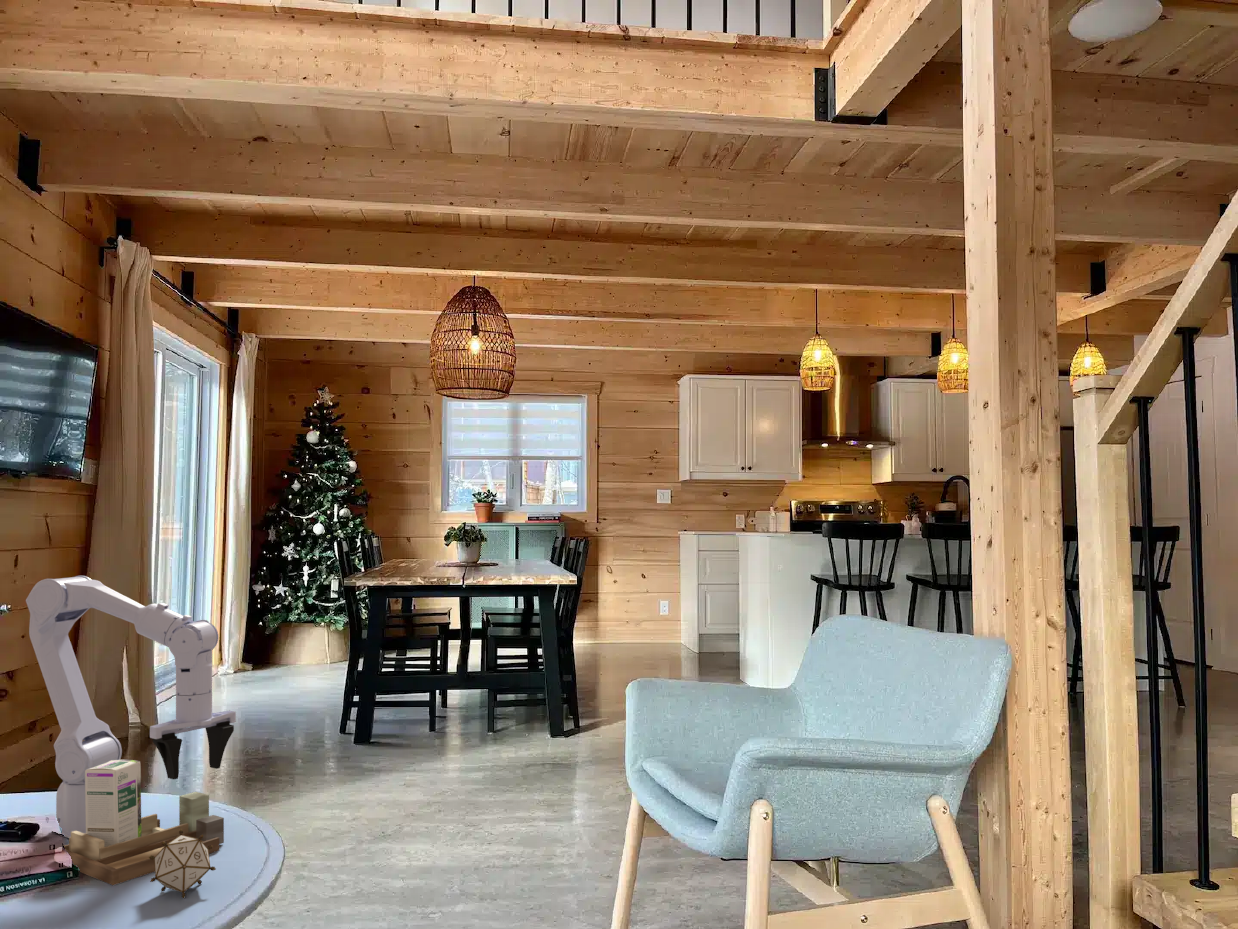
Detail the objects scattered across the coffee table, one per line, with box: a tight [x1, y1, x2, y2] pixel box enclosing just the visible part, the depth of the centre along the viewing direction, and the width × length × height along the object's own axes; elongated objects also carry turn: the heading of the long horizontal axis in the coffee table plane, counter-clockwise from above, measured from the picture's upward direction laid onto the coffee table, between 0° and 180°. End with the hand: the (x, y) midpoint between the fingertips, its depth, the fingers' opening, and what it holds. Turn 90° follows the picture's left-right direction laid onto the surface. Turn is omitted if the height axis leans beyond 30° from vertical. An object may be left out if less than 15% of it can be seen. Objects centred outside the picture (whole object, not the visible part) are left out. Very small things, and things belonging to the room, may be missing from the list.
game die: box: [149, 829, 217, 899], centre depth 135 cm, size 9×8×10 cm
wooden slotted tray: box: [68, 791, 210, 861], centre depth 155 cm, size 10×20×6 cm, turn 145°
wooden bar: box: [107, 814, 225, 869], centre depth 149 cm, size 5×17×4 cm, turn 144°
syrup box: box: [85, 759, 142, 847], centre depth 151 cm, size 6×6×14 cm
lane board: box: [63, 818, 220, 886], centre depth 150 cm, size 18×17×2 cm
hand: (194, 773), depth 162 cm, fingers open, 7 cm apart
